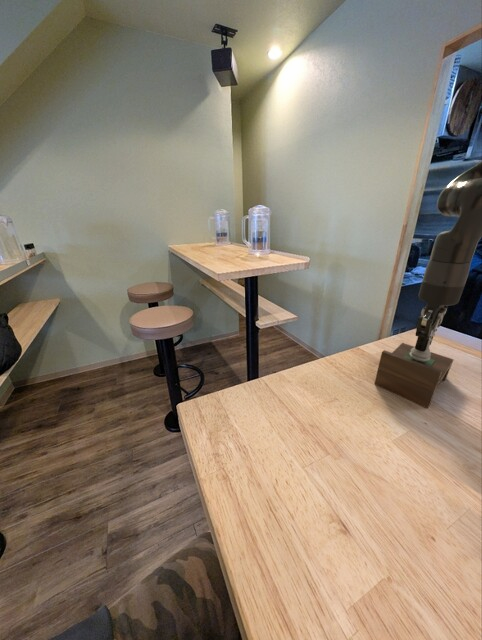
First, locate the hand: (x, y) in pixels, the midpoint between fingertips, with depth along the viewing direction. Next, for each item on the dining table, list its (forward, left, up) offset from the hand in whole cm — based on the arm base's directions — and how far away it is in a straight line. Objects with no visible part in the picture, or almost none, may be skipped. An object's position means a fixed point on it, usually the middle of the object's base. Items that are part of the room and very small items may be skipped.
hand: (422, 346), depth 63 cm
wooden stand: (+1, 0, -10) cm, 10 cm away
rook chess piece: (0, 0, -3) cm, 3 cm away
